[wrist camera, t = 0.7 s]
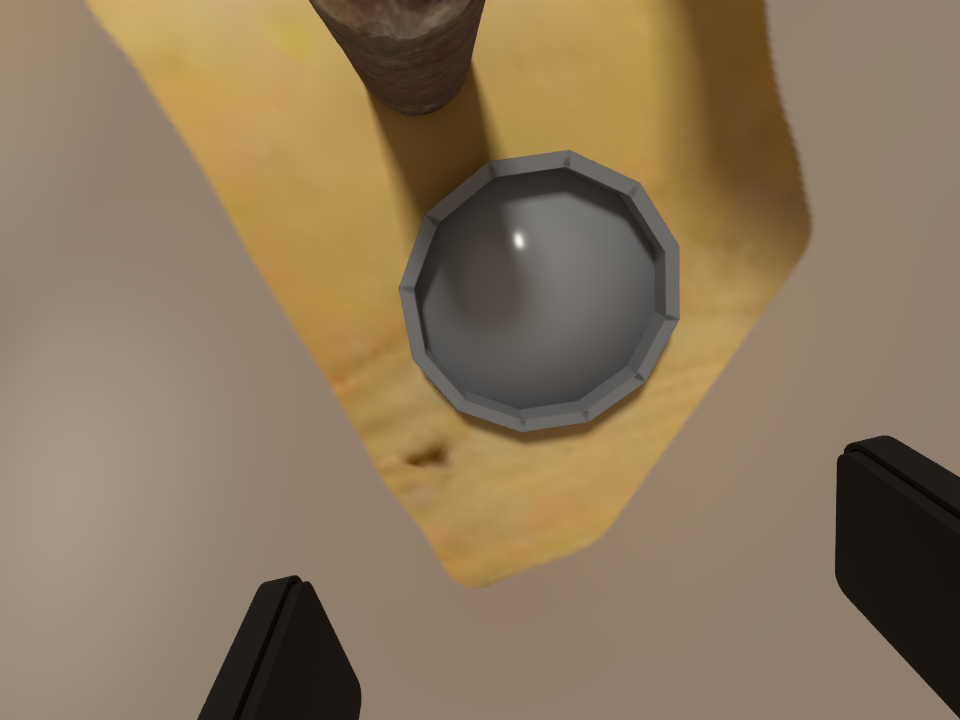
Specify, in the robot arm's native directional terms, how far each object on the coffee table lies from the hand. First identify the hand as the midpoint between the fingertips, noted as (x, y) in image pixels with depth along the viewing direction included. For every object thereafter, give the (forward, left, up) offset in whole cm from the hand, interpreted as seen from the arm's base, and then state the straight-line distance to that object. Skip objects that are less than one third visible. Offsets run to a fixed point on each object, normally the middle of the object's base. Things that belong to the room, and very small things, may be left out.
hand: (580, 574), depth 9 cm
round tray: (-3, +4, -31) cm, 31 cm away
